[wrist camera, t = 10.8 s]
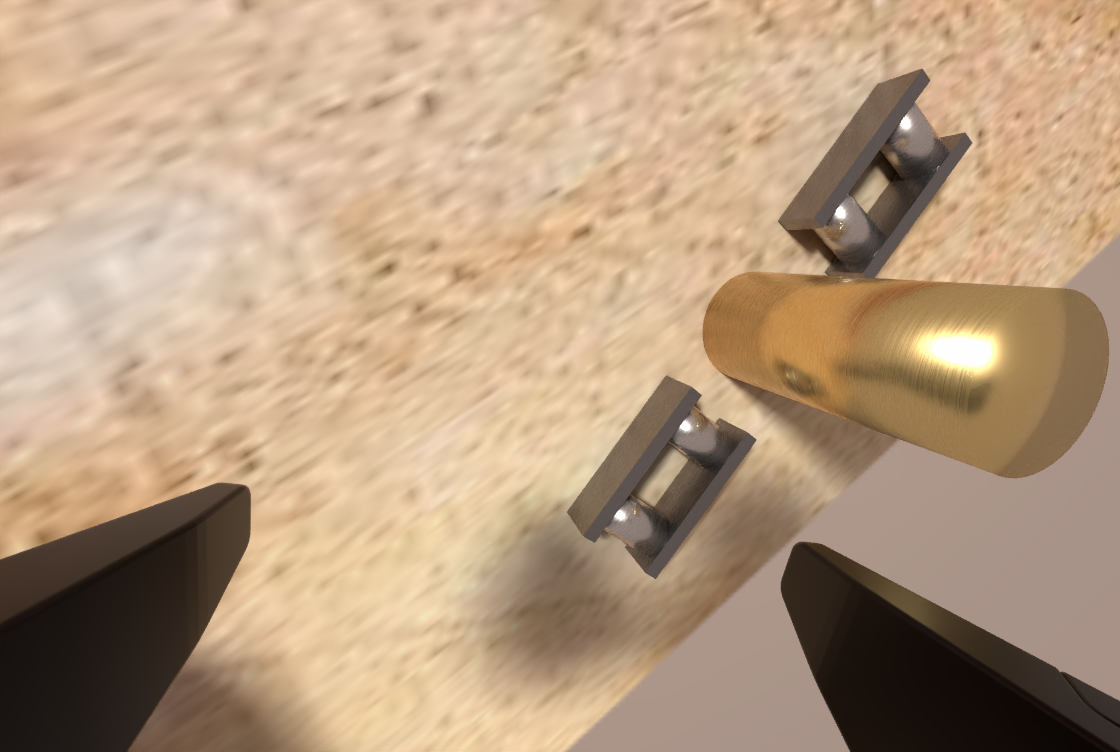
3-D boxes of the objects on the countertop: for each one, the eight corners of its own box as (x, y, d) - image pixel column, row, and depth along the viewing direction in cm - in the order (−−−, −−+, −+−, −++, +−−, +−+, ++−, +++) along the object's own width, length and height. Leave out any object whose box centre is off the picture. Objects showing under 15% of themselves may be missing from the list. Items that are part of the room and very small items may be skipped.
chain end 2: (832, 279, 24) (870, 282, 22) (778, 220, 22) (813, 218, 20) (926, 151, 24) (972, 142, 22) (877, 83, 22) (922, 68, 20)
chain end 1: (634, 553, 24) (655, 578, 22) (566, 511, 22) (583, 535, 20) (728, 425, 24) (756, 440, 22) (666, 375, 22) (691, 386, 20)
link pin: (696, 378, 23) (948, 483, 12) (710, 268, 22) (995, 283, 11) (786, 379, 24) (1079, 473, 14) (802, 275, 23) (1130, 293, 13)
